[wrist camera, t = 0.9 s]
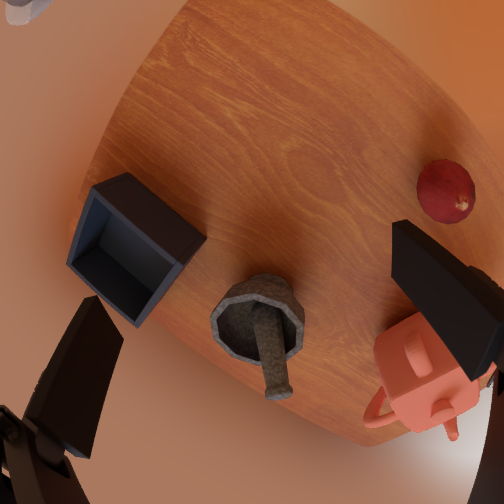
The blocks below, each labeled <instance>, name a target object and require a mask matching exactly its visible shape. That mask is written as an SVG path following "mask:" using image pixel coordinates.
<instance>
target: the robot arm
mask: <svg viewBox="0 0 504 504" xmlns="http://www.w3.org/2000/svg"><path fill="white" fill-rule="evenodd" d="M3 1H6V2H8V4H10V5H12V6H16V7H23V6H25V5H27V4H29V3H30V2H31V1H33V0H3ZM391 277H392V278H393V279H394V281H395V282H396V283H397V284H398V285H399V286H400V288H401V289H402V290H403V291H404V293H405V294H406V295H407V296H408V297H409V299H410V300H411V301H412V302H413V304H414V305H415V306H416V307H417V309H418V310H419V311H420V312H421V314H422V315H423V316H424V317H425V319H426V320H427V321H428V323H429V324H430V325H431V327H432V328H433V329H434V330H435V332H436V333H437V334H438V336H439V337H440V339H441V340H442V341H443V343H444V344H445V345H446V347H447V348H448V350H449V351H450V352H451V354H452V355H453V357H454V358H455V359H456V361H457V362H458V364H459V365H460V367H461V368H462V370H463V371H464V373H465V374H466V376H467V377H468V379H469V380H470V382H473V381H474V380H476V379H478V378H479V377H481V376H482V375H484V374H485V373H487V371H488V369H489V367H490V366H491V364H492V362H494V363H495V365H496V366H497V367H496V369H495V371H494V373H493V374H492V376H491V378H490V379H489V381H488V383H487V387H489V386H490V385H491V383H492V382H493V380H494V383H493V394H492V404H491V410H490V417H489V424H488V429H487V435H486V440H485V445H484V449H483V453H482V457H481V461H480V465H479V469H478V472H477V476H476V479H475V482H474V485H473V488H472V491H471V494H470V497H469V500H468V503H467V504H504V290H503V289H502V288H501V287H499V286H498V284H497V283H496V282H494V281H492V280H491V278H490V277H489V276H488V275H487V274H485V273H484V272H483V271H481V270H479V269H477V268H475V267H473V266H469V267H467V266H466V265H464V264H463V263H462V262H461V261H460V260H459V259H457V258H456V257H455V256H454V255H453V254H451V253H450V252H449V251H448V250H446V249H445V248H444V247H443V246H441V245H440V244H439V243H438V242H436V241H435V240H434V239H433V238H431V237H430V236H429V235H427V234H426V233H425V232H423V231H422V230H421V229H419V228H418V227H417V226H415V225H414V224H413V223H411V222H410V221H409V220H407V219H405V220H401V221H397V222H394V223H392V272H391ZM123 341H124V339H123V337H122V335H121V334H120V333H119V331H118V329H117V328H116V326H115V325H114V323H113V321H112V320H111V318H110V317H109V315H108V313H107V311H106V310H105V308H104V307H103V305H102V303H101V301H100V300H99V298H98V296H97V295H96V296H91V297H87V298H84V300H83V302H82V303H81V305H80V307H79V308H78V310H77V312H76V314H75V315H74V317H73V319H72V320H71V322H70V324H69V326H68V327H67V329H66V331H65V333H64V335H63V337H62V339H61V340H60V342H59V344H58V346H57V348H56V350H55V352H54V354H53V355H52V357H51V359H50V361H49V363H48V365H47V368H46V369H45V370H44V371H43V372H42V374H41V377H40V379H39V381H38V384H37V385H36V387H35V392H33V394H32V397H31V399H30V401H29V403H28V406H27V408H26V410H25V413H24V415H23V418H22V420H20V419H19V418H18V417H17V416H15V415H14V414H13V413H12V412H11V411H10V410H9V409H8V408H7V407H6V406H5V405H0V504H90V503H89V501H88V499H87V497H86V495H85V493H84V491H83V489H82V488H81V485H80V483H79V481H78V479H77V476H76V475H75V472H74V470H73V467H72V465H71V463H70V460H69V459H68V457H67V456H65V455H64V452H65V449H66V450H67V451H68V452H70V453H71V454H73V455H74V456H76V457H81V458H87V459H90V456H91V452H92V447H93V443H94V438H95V434H96V430H97V426H98V423H99V419H100V415H101V411H102V408H103V404H104V401H105V397H106V394H107V390H108V387H109V384H110V380H111V377H112V374H113V371H114V368H115V364H116V362H117V359H118V355H119V353H120V350H121V347H122V344H123ZM2 467H3V468H4V469H6V470H7V471H9V474H10V478H9V477H7V476H6V475H4V474H3V473H2Z"/></svg>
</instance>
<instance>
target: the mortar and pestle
mask: <svg viewBox="0 0 504 504" xmlns="http://www.w3.org/2000/svg"><path fill="white" fill-rule="evenodd" d="M210 322H211V328H212V333H213V338H214V340H215V341H216V342H217V343H218V344H219V345H220V346H221V347H222V348H223V349H224V350H225V351H226V352H227V353H228V354H229V355H230V356H231V357H233V358H236V359H239V360H242V361H245V362H248V363H251V364H254V365H257V366H260V365H262V369H263V373H264V378H265V382H266V387H267V388H266V390H265V396H266V399H268V400H282V399H286V398H288V397H290V396H292V394H293V389H292V387H291V386H290V384H289V380H288V371H287V363H286V361H287V360H288V359H290V358H291V357H292V356H293V355H295V354H296V353H297V352H298V351H300V350H301V349H302V346H303V336H304V323H305V315H304V308H303V307H302V306H301V305H300V303H299V302H298V301H297V300H296V298H295V297H294V296H293V290H292V289H291V287H290V286H289V285H288V284H287V282H286V281H285V280H284V279H283V278H281V277H279V276H276V275H273V274H270V273H263V274H258V275H254V276H251V277H250V278H249V280H248V281H247V282H242V283H238V284H235V285H233V286H232V287H231V288H230V289H229V290H228V292H227V293H226V294H225V296H224V297H223V298H222V299H221V301H220V302H219V303H218V305H217V306H216V307H215V308H214V310H213V312H212V314H211V316H210Z"/></svg>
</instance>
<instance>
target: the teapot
mask: <svg viewBox="0 0 504 504" xmlns="http://www.w3.org/2000/svg"><path fill="white" fill-rule="evenodd" d="M374 358H375V363H376V367H377V371H378V374H379V377H380V380H381V383H382V386H381V387H380V389H379V390H378V392H377V393H376V395H375V396H374V397H373V399H372V400H371V402H370V403H369V405H368V407H367V409H366V411H365V413H364V416H363V424H364V425H365V426H366V427H369V428H375V427H380V426H383V425H386V424H389V423H391V422H394V421H396V420H398V419H399V420H400V421H401V422H402V423H403V424H404V425H405V426H406V427H407V428H409V429H410V430H412V431H414V432H417V433H419V432H422V431H425V430H428V429H430V428H432V427H435V426H437V425H439V424H441V423H443V425H444V427H445V429H446V432H447V435H448V438H449V439H450V440H451V441H455V440H457V439H458V436H459V434H458V429H457V418H456V416H458V415H460V414H462V413H464V412H465V411H467V410H469V409H471V408H472V407H474V406H475V405H476V404H477V403H478V401H479V396H480V394H479V393H480V391H479V379H481V378H483V377H485V376H487V375H488V374H490V373H492V372H493V371H495V369H496V367H497V366H496V365H495V363H494V362H492V364H491V366H490V367H489V369H488V371H487V373H485V374H484V375H482V376H481V377H479V378H478V379H476V380H474V381H473V382H470V380H469V379H468V377H467V376H466V374H465V373H464V371H463V370H462V368H461V367H460V365H459V364H458V362H457V361H456V359H455V358H454V357H453V355H452V354H451V352H450V351H449V350H448V348H447V347H446V345H445V344H444V343H443V341H442V340H441V339H440V337H439V336H438V334H437V333H436V332H435V330H434V329H433V328H432V327H431V325H430V324H429V323H428V321H427V320H426V319H425V317H424V316H423V315H422V314H421V312H420V311H419V312H417V313H415V314H413V315H412V316H410V317H408V318H406V319H405V320H403V321H401V322H399V323H398V324H396V325H394V326H393V327H391V328H389V329H387V330H386V331H384V332H383V333H381V334H380V335H378V336H377V338H376V341H375V345H374ZM386 396H387V398H388V400H389V403H390V405H391V407H392V409H393V411H392V412H390V413H388V414H385V415H382V416H378V415H379V411H380V408H381V406H382V404H383V402H384V400H385V398H386Z"/></svg>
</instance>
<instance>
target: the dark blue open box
mask: <svg viewBox="0 0 504 504" xmlns="http://www.w3.org/2000/svg"><path fill="white" fill-rule="evenodd" d="M206 239H207V238H206V237H205V236H204V235H202V234H201V233H200V232H199V231H198V230H196V229H195V228H194V227H193V226H191V225H190V224H189V223H188V222H187V221H185V220H184V219H183V218H182V217H181V216H179V215H178V214H177V213H176V212H175V211H173V210H172V209H171V208H170V207H168V206H167V205H166V204H165V203H164V202H162V201H161V200H160V199H159V198H158V197H156V196H155V195H154V194H153V193H152V192H150V191H149V190H148V189H147V188H146V187H145V186H143V185H142V184H141V183H140V182H139V181H137V180H136V179H135V178H134V177H133V176H131V175H130V174H129V173H128V172H127V173H124V174H121V175H119V176H116V177H113V178H111V179H108V180H106V181H103V182H101V183H98V184H96V185H93V186H92V187H91V189H90V192H89V194H88V197H87V200H86V202H85V205H84V208H83V211H82V213H81V216H80V219H79V222H78V225H77V228H76V231H75V235H74V238H73V241H72V244H71V248H70V251H69V255H68V258H67V262H66V265H67V266H68V267H69V268H71V270H72V271H73V272H74V273H75V274H76V275H78V276H79V277H80V278H81V279H82V280H83V281H84V282H85V283H86V284H87V285H88V286H89V287H90V288H91V289H92V290H93V291H94V292H95V293H97V294H98V295H99V296H100V297H101V298H102V299H103V300H104V301H105V302H107V303H108V304H109V305H110V306H111V307H112V308H113V309H115V310H116V311H117V312H118V313H119V314H120V315H121V316H123V317H124V318H125V319H126V320H127V321H129V322H130V323H131V324H132V325H134V326H135V327H136V328H139V327H140V325H141V324H142V323H143V321H144V320H145V319H146V318H147V316H148V315H149V314H150V313H151V311H152V310H153V309H154V307H155V306H156V305H157V304H158V302H159V301H160V300H161V299H162V297H163V296H164V295H165V293H166V292H167V290H168V289H169V288H170V286H171V285H172V284H173V282H174V281H175V280H176V278H177V277H178V276H179V274H180V273H181V272H182V271H183V269H184V268H185V267H186V265H187V264H188V263H189V261H190V260H191V259H192V257H193V256H194V255H195V254H196V252H197V251H198V250H199V248H200V247H201V246H202V244H203V243H204V242H205V241H206Z"/></svg>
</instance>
